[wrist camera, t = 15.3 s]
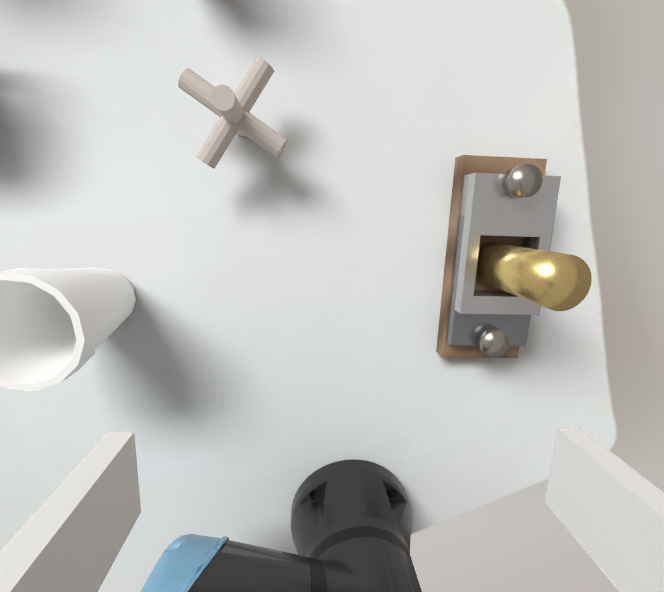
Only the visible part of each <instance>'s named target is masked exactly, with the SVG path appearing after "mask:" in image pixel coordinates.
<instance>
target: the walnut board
mask: <svg viewBox="0 0 664 592" xmlns="http://www.w3.org/2000/svg"><path fill="white" fill-rule="evenodd" d="M546 162H547V159H531V158H511V157H491V156H470V155H462V156H459V157H457V158H456V159H455V169H454V179H453V189H452V199H451V209H450V219H449V230H448V240H447V250H446V260H445V270H444V280H443V290H442V300H441V310H440V320H439V331H438V341H437V352H438V353H439V354H440V355H441V356H442V357H476V358H492V357H489V356H488V355H486V354H485V353H484V352H482V351H481V350H480V349H479V348H478V347H477V345H450V344H449V343H448V342H447V341H446V334H447V325H448V315H449V305H450V296H451V286H452V276H453V267H454V257H455V248H456V238H457V228H458V219H459V209H460V199H461V190H462V180H463V175H468V174H472V173H494V174H506V173H507V171H508V170H510V169H511V168H513V167H515V166H520V165H524V164H533V165H535V166H537V167H538V168H539V169H540V171H541V173H542V176H544V175H545V168H546ZM522 240H523V237H522V236H491V235H481V236H480V244H479V248H480V247H481V246H483V245H485V244H487V243H500V244H506V245H512V246H519V247H522ZM474 290H478V291H503V290H501V289H498V288H496V287H493V286H491V285H488V284H486V283H483V282H481V281H479V280H478V279H477V278H475V287H474ZM518 351H519V346H510V347H509V349H508V351H507V352H506V353H505V354H504V355H503V356H501V357H497V358H518Z"/></svg>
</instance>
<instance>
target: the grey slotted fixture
mask: <svg viewBox="0 0 664 592" xmlns="http://www.w3.org/2000/svg"><path fill="white" fill-rule="evenodd" d="M560 179H561V177H560V176H542V173H541V171H540V169H539V168H538V167H537V166H535V165H533V164H524V165H520V166H515V167H513V168H511V169H510V170H508V171H507V173H506V174H494V173H472V174H468V175H463V180H462V190H461V199H460V209H459V219H458V228H457V238H456V248H455V257H454V267H453V276H452V286H451V296H450V305H449V315H448V325H447V334H446V341H447V342H448V343H449V344H450V345H477V347H478V348H479V349H480V350H481V351H482V352H484V353H485V354H486V355H488V356H489V357H492V358H497V357H501V356H503V355H504V354H505V353H506V352H507V351H508V349H509V347H510V346H526V340H527V334H528V327H529V320H530V315H539V313H540V306H541V305H539V304H536V303H534V302H531V301H528V300H526V299H523V298H521V297H518V296H516V295H513V294H511V293H508V292H506V291H478V290H474V287H475V278H476V270H477V261H478V253H479V244H480V236H481V235H491V236H522V237H523V240H522V247H525V248H531V249H537V250H543V251H549V249H550V243H551V236H552V230H553V224H554V217H555V211H556V204H557V198H558V192H559V185H560Z"/></svg>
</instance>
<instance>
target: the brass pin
mask: <svg viewBox="0 0 664 592" xmlns="http://www.w3.org/2000/svg"><path fill="white" fill-rule="evenodd" d="M476 278H477V279H478V280H479V281H481V282H483V283H486V284H488V285H491V286H493V287H496V288H498V289H501V290H503V291H506V292H508V293H511V294H513V295H516V296H518V297H521V298H523V299H526V300H528V301H531V302H534V303H536V304H539V305H541V306H544V307H546V308H549V309H551V310H555V311H565V310H569V309H571V308H573V307H575V306H577V305H578V304H579V303H580V302H581V301H582V300H583V299H584V298H585V297H586V295H587V293H588V292H589V289H590V286H591V272H590V269H589V267H588V265H587V264H586V263H585V261H583V260H582V259H581V258H579V257H577V256H574V255H568V254H562V253H556V252H550V251H543V250H537V249H531V248H525V247H519V246H512V245H506V244H500V243H487V244H485V245H483V246H481V247H480V248H479V253H478V261H477V270H476Z"/></svg>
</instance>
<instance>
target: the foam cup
mask: <svg viewBox="0 0 664 592" xmlns="http://www.w3.org/2000/svg"><path fill="white" fill-rule="evenodd" d="M135 303H136V296H135V291H134V287H133V286H132V284H131V283H130V282H129V280H128V279H127V278H126V276H124V275H122V274H121V273H119V272H117V271H115V270H114V269H106V268H66V269H35V268H26V267H23V268H18V269H13V270H7V271H2V272H0V386H2V387H4V388H6V389H16V390H27V391H37V390H40V389H43V388H46V387H49V386H52V385H55V384H58V383H61V382H62V381H64V380H65V379H67V378H68V377H69V376H71V375H72V374H74V373H75V372H77V371H78V370H79V369H80V368H81V367H82V366H83V365H84V364H85V363H86V362H87V361H88V360H89V359H90V358H91V357H92V356H93V355H94V354H95V350H96V348H97V347H98V346H99V345H100V344H101V343H102V342H103V341H104V340H105V339H106V338H107V337H108V336H109V335H110V334H111V333H112V332H113V331H114V330H115V329H116V328H117V327H118V326H119V325H120V324H121V323H122V322H123V321H124V320H125V319H126V318H127V317H128V316H129V315H130V314H131V313H132V312H133V310H134V306H135Z"/></svg>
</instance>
